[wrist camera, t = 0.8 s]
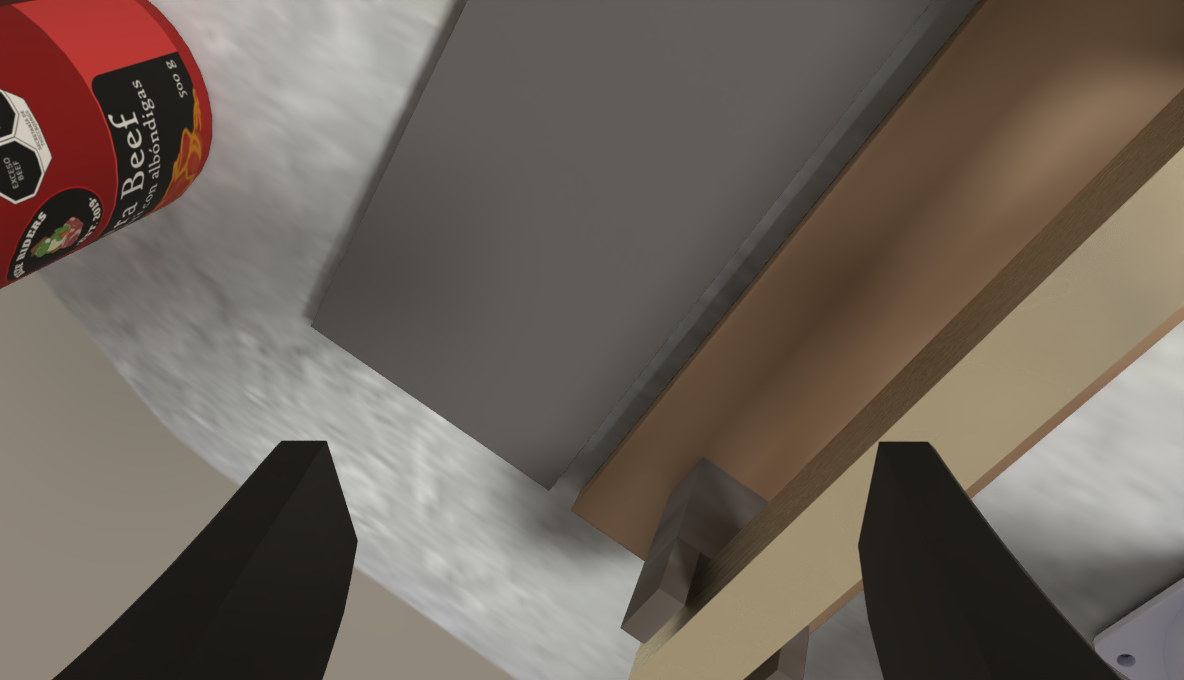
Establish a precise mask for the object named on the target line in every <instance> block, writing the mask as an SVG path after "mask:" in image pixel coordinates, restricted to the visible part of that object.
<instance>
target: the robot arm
mask: <svg viewBox="0 0 1184 680" xmlns="http://www.w3.org/2000/svg"><path fill="white" fill-rule="evenodd" d="M357 542H358V540H357V537H356V534H355V530H354V527H353V524H352V521H351V518H350V514H349V511H348V508H347V505H346V501H345V498H344V495H343V492H342V489H341V485H340V482H339V479H338V476H337V473H336V469H335V466H334V463H333V460H332V456H331V453H330V450H329V447H328V444H327V441H281V442H280V443H279V444H278V445H277V446H276V447H275V448H274V449H273V451H272V452H271V453H270V454H269V455H268V456H267V457H266V458H265V460H264V461H263V462H262V463H261V464H260V465H259V466H258V468H257V469H256V470H255V471H254V472H253V473H252V475H251V476H250V477H249V478H248V479H247V480H246V481H245V483H244V484H243V485H242V486H241V487H240V488H239V490H238V491H237V492H236V493H235V494H234V495H233V497H232V498H231V499H230V500H229V501H228V502H227V503H226V504H225V506H224V507H223V508H222V509H221V510H220V511H219V512H218V514H217V515H216V516H215V517H214V518H213V519H212V520H211V521H210V523H209V524H208V525H207V526H206V527H205V528H204V529H203V531H201V532H200V534H199V535H198V536H197V537H196V538H195V539H194V540H193V541H192V542H191V543H190V545H189V546H188V547H187V548H186V549H185V550H184V551H183V552H182V553H181V554H180V555H179V557H178V558H177V559H176V560H175V561H174V562H173V563H172V564H171V565H170V566H169V567H168V568H167V570H166V571H165V572H164V573H163V574H162V575H161V576H160V577H159V578H158V579H157V580H156V581H155V582H154V583H153V584H152V585H151V586H150V587H149V588H148V589H147V590H146V591H145V592H144V593H143V594H142V595H141V596H140V597H139V598H138V599H137V600H136V601H135V602H134V603H133V604H132V605H131V606H130V607H129V608H128V609H127V610H126V611H125V612H124V613H123V614H122V615H121V616H120V617H119V618H118V619H117V620H116V621H115V622H114V623H113V624H112V625H111V626H110V627H109V628H108V629H107V630H106V631H105V632H104V633H103V634H102V635H101V636H100V637H99V638H98V639H96V640H95V641H94V642H93V643H92V644H91V645H90V646H89V647H88V648H87V649H86V650H85V651H84V652H82V653H81V654H80V655H79V656H78V657H77V658H76V659H75V660H74V661H73V662H71V663H70V664H69V665H68V666H67V667H66V668H65V669H64V670H63V671H61V672H60V673H59V674H58V675H57V676H56V677H54V678H53V679H52V680H322V679H323V676H324V673H325V670H326V667H327V664H328V661H329V658H330V654H331V651H332V649H333V645H334V642H335V639H336V636H337V633H338V630H339V627H340V623H341V620H342V617H343V614H344V609H345V605H346V600H347V595H348V590H349V586H350V581H351V575H352V570H353V564H354V559H355V553H356V548H357ZM858 550H859V558H860V565H861V573H862V580H863V587H864V594H865V601H866V607H867V614H868V620H869V624H870V628H871V632H872V636H873V640H874V643H875V647H876V651H877V655H878V659H879V663H880V666H881V670H882V674H883V678H884V680H1122V679H1121V678H1120V677H1119V676H1118V675H1117V674H1116V673H1115V672H1114V670H1113V669H1112V668H1111V667H1110V666H1109V665H1111V666H1112V667H1113V668H1115V669H1116V670H1118V671H1119V672H1121V673H1122V674H1123V675H1125V676H1126V677H1128V678H1129V679H1131V680H1184V578H1183V579H1181V580H1180V581H1178V582H1176V583H1175V584H1173V585H1172V586H1170V587H1169V588H1167V589H1166V590H1164V591H1163V592H1161V593H1160V594H1158V595H1157V596H1155V597H1154V598H1152V599H1151V600H1149V601H1148V602H1146V603H1145V604H1143V605H1142V606H1140V607H1139V608H1137V609H1136V610H1134V611H1133V612H1131V613H1130V614H1128V615H1127V616H1125V617H1124V618H1122V619H1121V620H1119V621H1118V622H1116V623H1115V624H1113V625H1112V626H1110V627H1109V628H1107V629H1106V630H1104V631H1103V632H1101V633H1100V634H1098V635H1097V636H1096V637H1095V639H1094V642H1093V643H1094V648H1095V650H1094V649H1093V648H1092V647H1091V646H1090V645H1089V644H1088V643H1087V641H1086V640H1085V639H1084V638H1083V637H1082V636H1081V635H1080V634H1079V633H1078V631H1077V630H1076V629H1075V628H1074V627H1073V626H1072V625H1071V624H1070V622H1069V621H1068V620H1067V619H1066V618H1065V617H1064V616H1063V615H1062V613H1061V612H1060V611H1059V610H1058V609H1057V608H1056V606H1055V605H1054V604H1053V603H1052V602H1051V601H1050V599H1049V598H1048V597H1047V596H1046V595H1045V594H1044V592H1043V591H1042V590H1041V589H1040V588H1039V586H1038V585H1037V584H1036V583H1035V581H1034V580H1033V579H1032V578H1031V576H1030V575H1029V574H1028V573H1027V571H1026V570H1025V569H1024V568H1023V567H1022V565H1021V564H1020V563H1019V562H1018V560H1017V559H1016V558H1015V557H1014V555H1013V554H1012V553H1011V552H1010V550H1009V549H1008V548H1007V547H1006V545H1005V544H1004V543H1003V542H1002V540H1001V539H1000V538H999V536H998V535H997V534H996V532H995V531H994V530H993V529H992V527H991V526H990V525H989V523H988V522H987V521H986V519H985V518H984V516H983V515H982V514H981V512H980V511H979V510H978V508H977V507H976V506H975V504H974V503H973V502H972V500H971V499H970V498H969V496H968V495H967V493H966V492H965V491H964V489H963V488H962V486H961V485H960V484H959V482H958V481H957V479H956V478H955V477H954V475H953V474H952V472H951V471H950V469H949V468H948V467H947V465H946V464H945V462H944V461H943V459H942V458H941V456H940V455H939V454H938V452H937V451H936V449H935V448H934V447H933V446H932V445H931V444H930V443H929V442H928V441H879V444H878V449H877V454H876V459H875V464H874V468H873V473H872V478H871V483H870V488H869V493H868V498H867V503H866V508H865V512H864V517H863V522H862V527H861V532H860V537H859V542H858ZM1122 654H1129V655H1131V656H1129V657H1119V656H1120V655H1122ZM1107 663H1108V664H1109V665H1108V664H1107Z"/></svg>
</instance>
